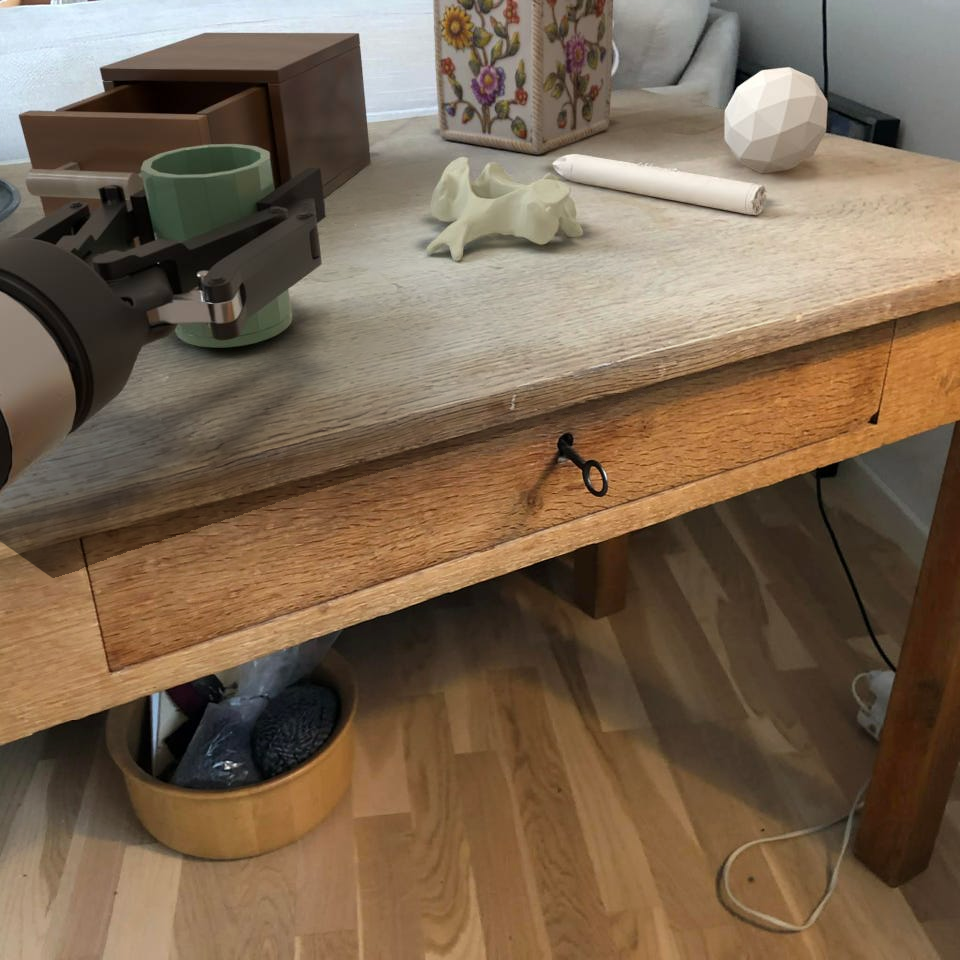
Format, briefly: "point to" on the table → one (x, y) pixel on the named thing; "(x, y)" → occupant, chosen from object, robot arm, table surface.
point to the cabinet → (278, 91)
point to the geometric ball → (775, 120)
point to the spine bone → (499, 207)
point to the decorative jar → (523, 71)
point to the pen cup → (212, 216)
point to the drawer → (138, 135)
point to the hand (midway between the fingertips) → (257, 189)
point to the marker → (663, 183)
